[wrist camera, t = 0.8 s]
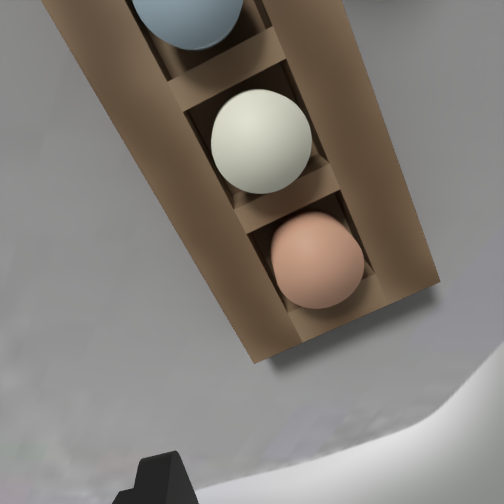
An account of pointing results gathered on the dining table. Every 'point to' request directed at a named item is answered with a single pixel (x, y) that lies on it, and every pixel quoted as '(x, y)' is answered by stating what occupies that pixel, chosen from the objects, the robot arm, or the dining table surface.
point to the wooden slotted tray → (245, 203)
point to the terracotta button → (315, 259)
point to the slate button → (190, 21)
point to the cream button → (260, 141)
